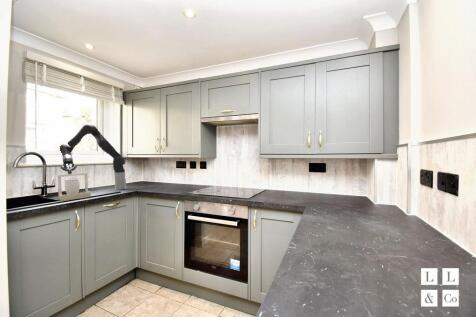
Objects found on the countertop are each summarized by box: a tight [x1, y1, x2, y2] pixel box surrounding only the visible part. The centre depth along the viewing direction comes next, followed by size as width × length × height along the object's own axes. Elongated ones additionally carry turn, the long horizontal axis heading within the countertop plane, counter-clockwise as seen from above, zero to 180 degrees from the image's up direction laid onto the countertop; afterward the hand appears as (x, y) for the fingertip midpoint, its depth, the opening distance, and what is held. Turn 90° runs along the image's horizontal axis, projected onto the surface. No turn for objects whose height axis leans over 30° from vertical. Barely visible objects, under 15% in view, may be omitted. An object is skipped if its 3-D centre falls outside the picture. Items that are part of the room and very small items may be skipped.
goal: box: [57, 172, 92, 201], centre depth 178 cm, size 14×20×20 cm
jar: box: [64, 177, 81, 195], centre depth 188 cm, size 11×10×15 cm
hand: (70, 173), depth 196 cm, fingers closed
